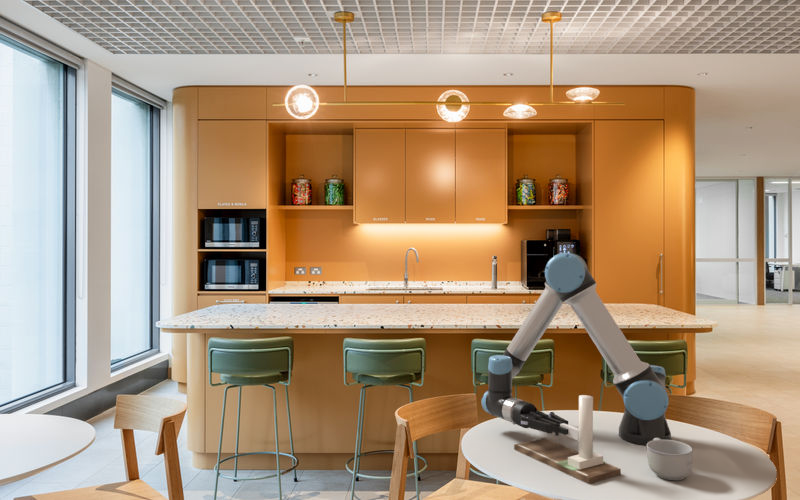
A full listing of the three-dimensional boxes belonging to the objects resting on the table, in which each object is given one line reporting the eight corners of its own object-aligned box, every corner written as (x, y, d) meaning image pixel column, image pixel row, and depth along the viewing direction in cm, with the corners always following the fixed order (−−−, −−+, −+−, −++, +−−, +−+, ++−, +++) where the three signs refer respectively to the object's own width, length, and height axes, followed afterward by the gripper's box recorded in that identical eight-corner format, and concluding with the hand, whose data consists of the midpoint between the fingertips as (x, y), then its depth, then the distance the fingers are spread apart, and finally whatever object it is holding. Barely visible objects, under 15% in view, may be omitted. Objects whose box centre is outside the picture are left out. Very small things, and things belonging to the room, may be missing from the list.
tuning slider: (567, 464, 149) (568, 397, 149) (591, 458, 153) (591, 393, 153) (579, 469, 145) (579, 400, 145) (603, 463, 150) (603, 396, 150)
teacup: (698, 486, 140) (698, 454, 140) (651, 482, 142) (651, 451, 142) (681, 465, 154) (681, 436, 154) (639, 462, 156) (639, 433, 156)
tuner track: (514, 449, 165) (514, 443, 165) (544, 442, 171) (544, 437, 171) (588, 483, 141) (588, 477, 141) (620, 474, 147) (620, 468, 147)
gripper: (536, 421, 175) (596, 444, 154) (503, 428, 168) (562, 453, 148) (536, 397, 175) (596, 417, 154) (504, 403, 168) (562, 424, 148)
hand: (579, 435), depth 151 cm, fingers closed
